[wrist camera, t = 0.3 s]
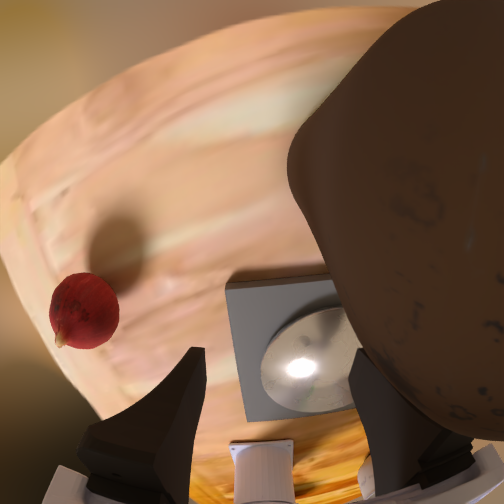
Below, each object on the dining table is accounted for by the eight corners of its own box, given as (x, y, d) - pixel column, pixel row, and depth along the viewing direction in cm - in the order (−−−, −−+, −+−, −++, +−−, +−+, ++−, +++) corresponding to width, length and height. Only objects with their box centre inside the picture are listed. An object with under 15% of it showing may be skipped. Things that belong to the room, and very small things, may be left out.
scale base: (386, 392, 26) (391, 402, 25) (247, 413, 27) (247, 425, 25) (413, 263, 21) (423, 270, 20) (226, 283, 22) (224, 292, 20)
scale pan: (379, 394, 24) (381, 399, 23) (265, 413, 24) (265, 418, 24) (400, 295, 20) (404, 299, 20) (254, 314, 21) (254, 319, 20)
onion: (70, 264, 21) (15, 304, 13) (120, 254, 21) (67, 299, 13) (91, 320, 23) (49, 372, 15) (141, 317, 23) (105, 377, 15)
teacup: (367, 441, 30) (382, 484, 22) (425, 427, 30) (443, 463, 22) (339, 480, 34) (347, 515, 27) (391, 469, 34) (402, 500, 27)
